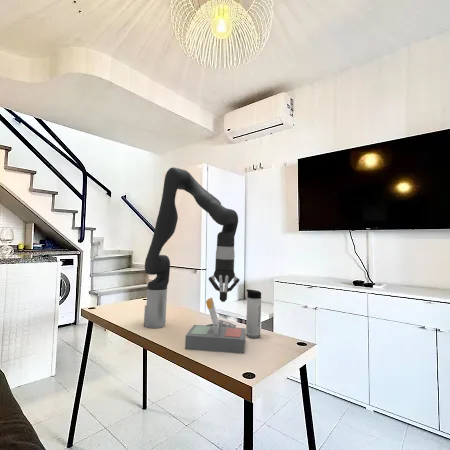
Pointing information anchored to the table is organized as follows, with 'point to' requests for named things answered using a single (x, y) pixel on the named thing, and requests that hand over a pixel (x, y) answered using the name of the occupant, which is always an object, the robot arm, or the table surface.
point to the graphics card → (224, 324)
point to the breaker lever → (212, 312)
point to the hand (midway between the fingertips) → (223, 301)
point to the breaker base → (216, 338)
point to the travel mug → (253, 314)
